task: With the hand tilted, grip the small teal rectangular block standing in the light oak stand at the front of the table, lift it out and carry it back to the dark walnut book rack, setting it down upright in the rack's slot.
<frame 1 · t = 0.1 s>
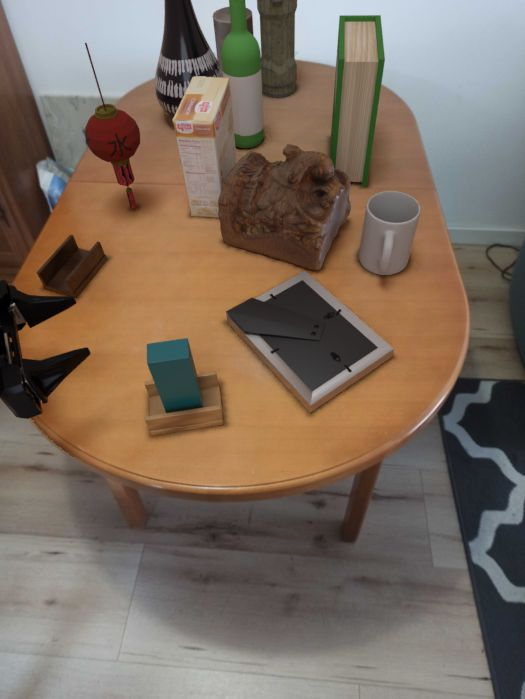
hand: (82, 324, 64), 14 cm above the table, tool horizontal, fingers open, 9 cm apart
lantern: (134, 208, 100), on the table
rack: (76, 273, 89), on the table
sculpture: (287, 233, 94), on the table
hardback book: (347, 161, 106), on the table
teal rectangular block: (185, 406, 71), point 1 cm above the table, touching stand
stand: (186, 409, 72), on the table
picture frame: (306, 340, 78), on the table
pillar candle: (236, 73, 132), on the table
mug: (382, 266, 87), on the table
bottle: (246, 141, 113), on the table
coffeecake box: (215, 194, 102), on the table
thermos: (278, 89, 126), on the table
vase: (195, 118, 120), on the table
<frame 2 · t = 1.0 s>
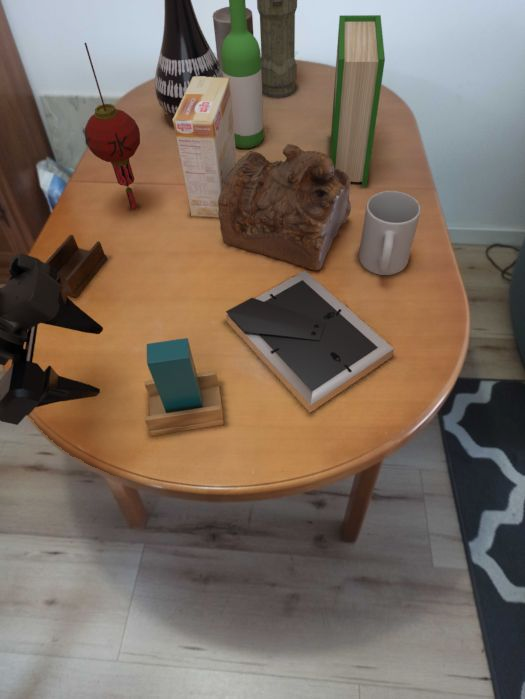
hand: (100, 360, 60), 14 cm above the table, tool tilted 45°, fingers open, 9 cm apart
nothing on the table moved.
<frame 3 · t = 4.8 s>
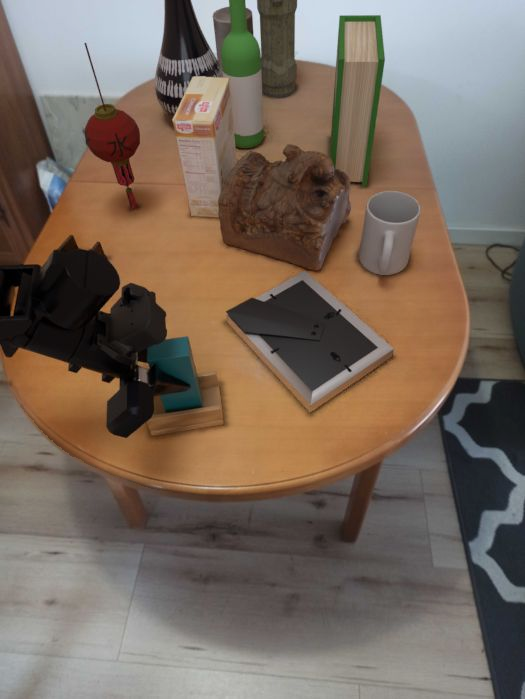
hand: (187, 377, 66), 8 cm above the table, tool tilted 45°, fingers closed on teal rectangular block, 3 cm apart
teal rectangular block: (185, 406, 71), point 1 cm above the table, touching gripper, stand
everything else where it was.
when the fingers open (8 cm above the table, at t = 16.0 s): teal rectangular block stays where it is, resting on rack.
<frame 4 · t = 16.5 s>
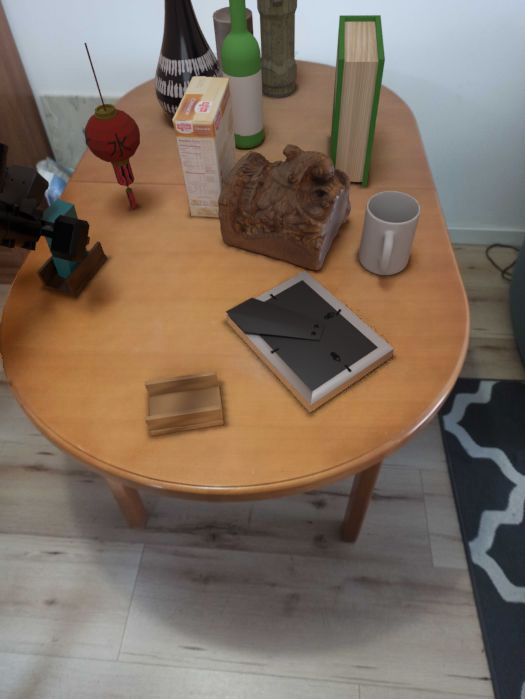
hand: (66, 234, 84), 8 cm above the table, tool tilted 45°, fingers open, 8 cm apart
teal rectangular block: (74, 269, 88), point 1 cm above the table, tilted 8°, touching rack
everything else where it was.
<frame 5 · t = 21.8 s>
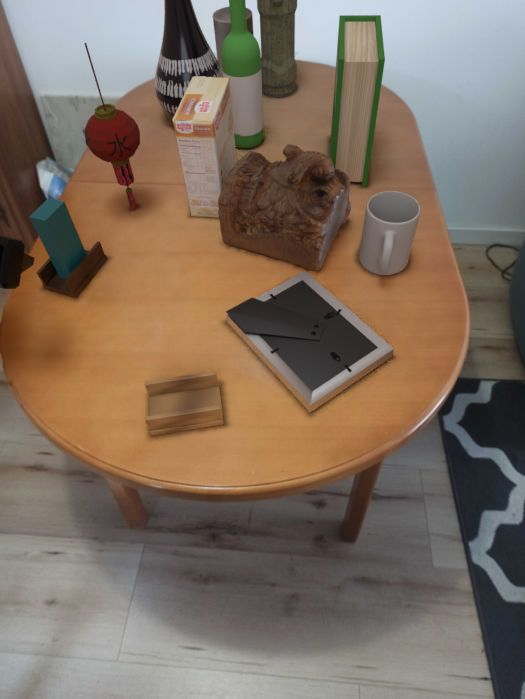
hand: (6, 253, 73), 14 cm above the table, tool tilted 45°, fingers open, 9 cm apart
teal rectangular block: (75, 270, 88), point 1 cm above the table, touching rack
everything else where it was.
at the end: teal rectangular block 0.2 cm off-centre on the rack, point 1.0 cm above the rack's base; teal rectangular block tilted 0°; the gripper is holding nothing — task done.
